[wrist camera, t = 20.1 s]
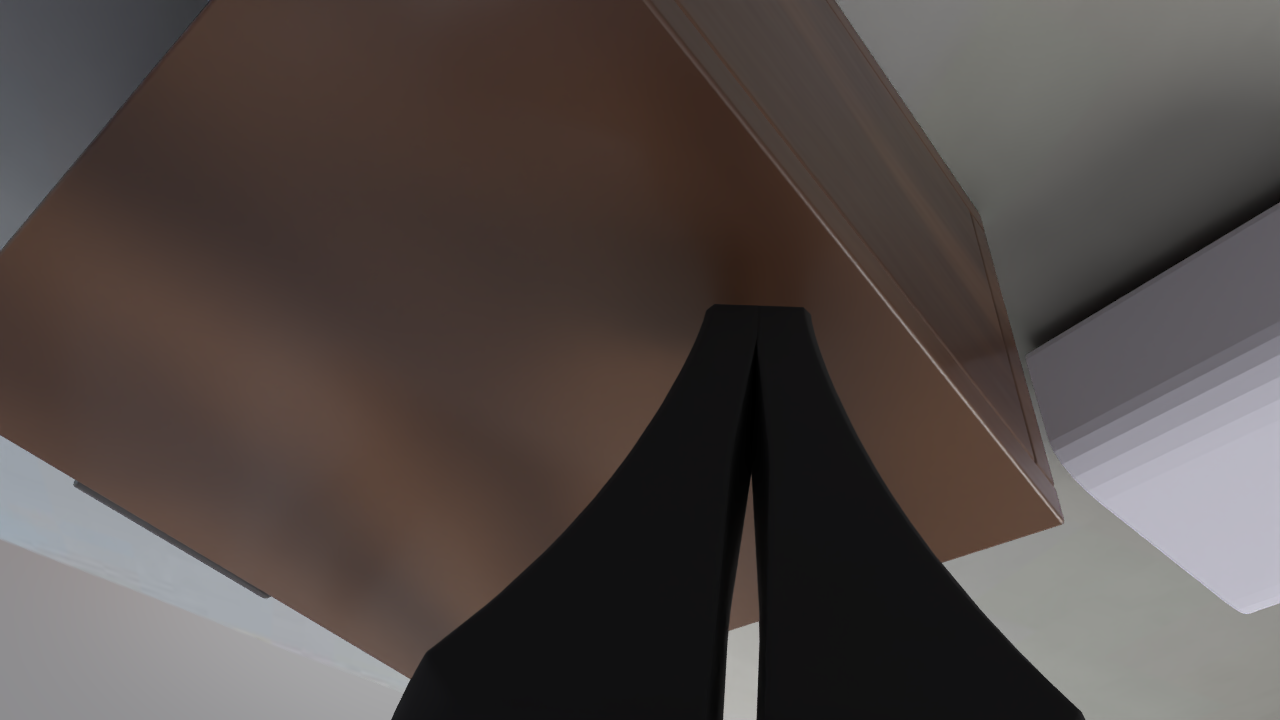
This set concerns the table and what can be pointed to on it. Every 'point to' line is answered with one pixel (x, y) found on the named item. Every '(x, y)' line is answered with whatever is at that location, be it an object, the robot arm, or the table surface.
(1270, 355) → the charger
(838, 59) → the cabinet
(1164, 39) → the table surface
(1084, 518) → the table surface
